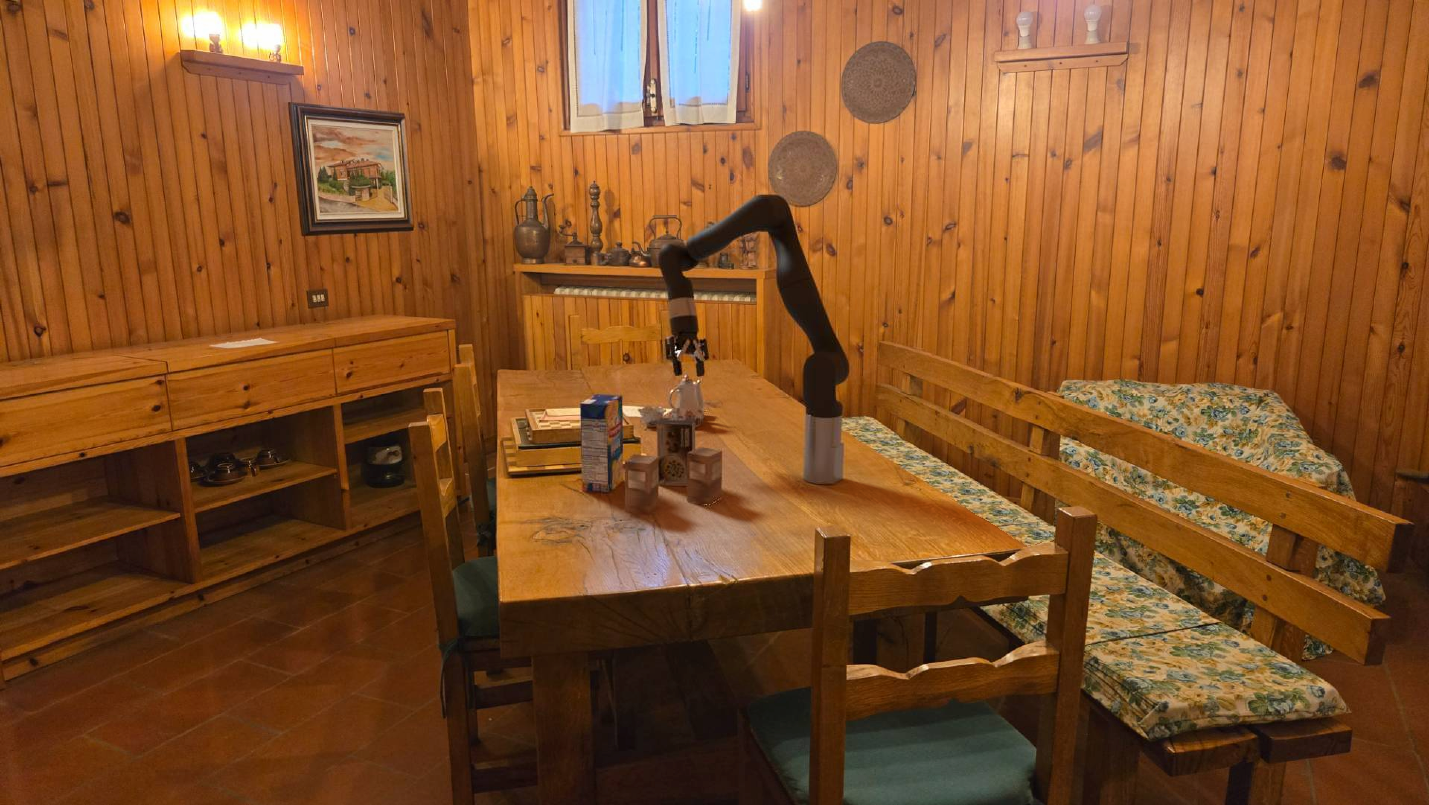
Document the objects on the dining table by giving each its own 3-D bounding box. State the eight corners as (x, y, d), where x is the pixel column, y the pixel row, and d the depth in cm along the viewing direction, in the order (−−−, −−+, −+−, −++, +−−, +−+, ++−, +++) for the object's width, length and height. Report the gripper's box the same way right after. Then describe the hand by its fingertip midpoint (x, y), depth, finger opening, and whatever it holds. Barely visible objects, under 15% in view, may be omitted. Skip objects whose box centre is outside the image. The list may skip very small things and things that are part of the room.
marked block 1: (660, 506, 219) (660, 456, 216) (651, 515, 213) (650, 464, 210) (634, 503, 220) (633, 454, 218) (624, 512, 214) (624, 462, 212)
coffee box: (696, 479, 239) (696, 417, 235) (692, 487, 233) (693, 424, 229) (660, 477, 240) (660, 416, 236) (656, 485, 234) (656, 422, 230)
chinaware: (690, 416, 312) (686, 366, 309) (729, 419, 301) (725, 368, 298) (631, 432, 290) (626, 379, 288) (671, 436, 280) (666, 381, 277)
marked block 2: (722, 499, 224) (723, 450, 221) (709, 506, 219) (709, 457, 216) (700, 494, 227) (700, 446, 224) (686, 501, 222) (686, 453, 219)
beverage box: (581, 491, 229) (580, 403, 224) (597, 478, 239) (596, 393, 234) (608, 493, 227) (607, 405, 222) (623, 480, 237) (622, 395, 233)
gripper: (674, 312, 246) (681, 373, 244) (711, 315, 256) (718, 374, 255) (654, 318, 251) (661, 378, 249) (691, 321, 261) (698, 378, 260)
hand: (690, 376), depth 252 cm, fingers open, 8 cm apart
